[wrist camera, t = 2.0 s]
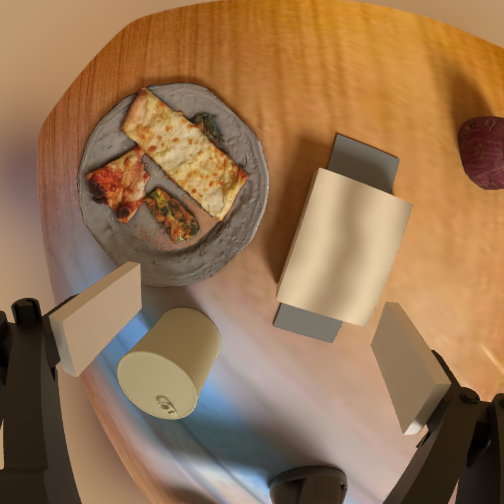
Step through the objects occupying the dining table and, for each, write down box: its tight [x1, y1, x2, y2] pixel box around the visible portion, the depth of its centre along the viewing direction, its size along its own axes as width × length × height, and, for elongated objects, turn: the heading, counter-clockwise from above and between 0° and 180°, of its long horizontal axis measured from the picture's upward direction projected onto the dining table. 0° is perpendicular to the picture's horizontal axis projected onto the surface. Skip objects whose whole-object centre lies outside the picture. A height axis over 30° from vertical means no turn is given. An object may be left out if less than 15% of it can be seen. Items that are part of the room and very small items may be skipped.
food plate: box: [77, 82, 269, 287], centre depth 32 cm, size 25×23×4 cm
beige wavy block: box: [275, 168, 413, 327], centre depth 30 cm, size 10×14×4 cm
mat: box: [273, 134, 399, 343], centre depth 32 cm, size 8×24×1 cm, turn 163°
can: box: [117, 307, 221, 419], centre depth 31 cm, size 9×9×12 cm
